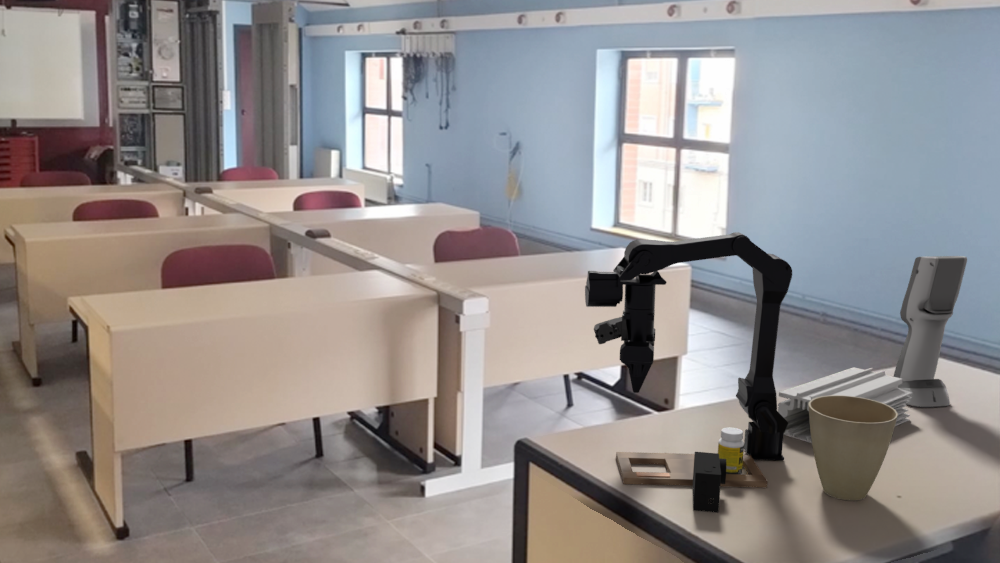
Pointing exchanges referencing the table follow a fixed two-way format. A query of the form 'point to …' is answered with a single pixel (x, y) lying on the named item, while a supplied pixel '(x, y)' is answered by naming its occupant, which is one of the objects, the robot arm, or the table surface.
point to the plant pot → (849, 442)
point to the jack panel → (681, 470)
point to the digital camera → (707, 481)
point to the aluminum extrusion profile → (845, 385)
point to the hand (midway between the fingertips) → (636, 385)
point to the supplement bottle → (731, 449)
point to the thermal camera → (928, 326)
